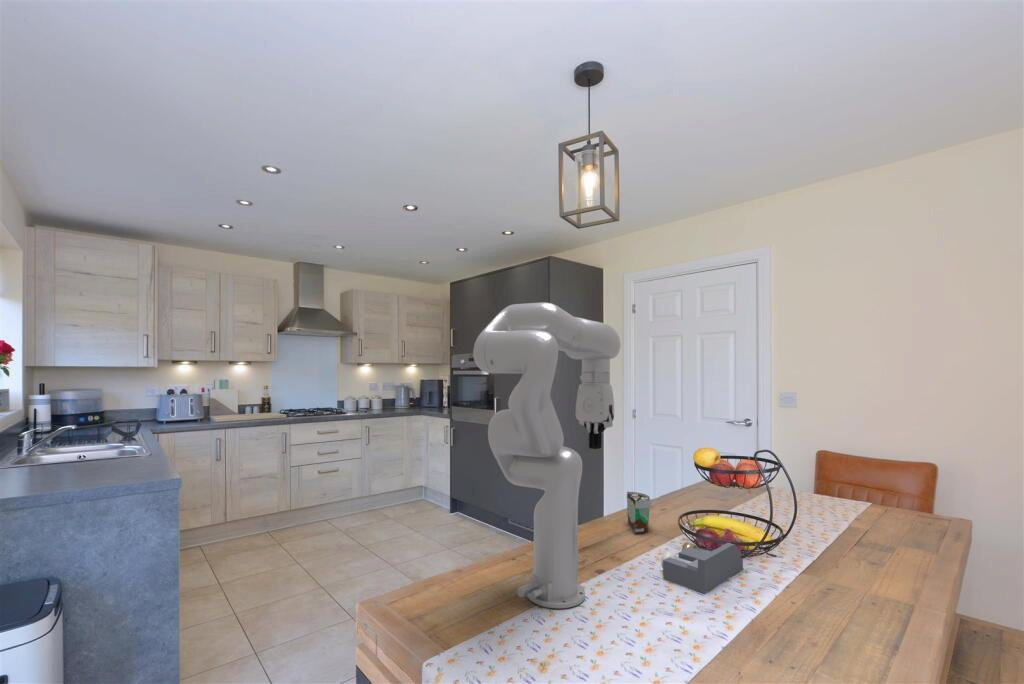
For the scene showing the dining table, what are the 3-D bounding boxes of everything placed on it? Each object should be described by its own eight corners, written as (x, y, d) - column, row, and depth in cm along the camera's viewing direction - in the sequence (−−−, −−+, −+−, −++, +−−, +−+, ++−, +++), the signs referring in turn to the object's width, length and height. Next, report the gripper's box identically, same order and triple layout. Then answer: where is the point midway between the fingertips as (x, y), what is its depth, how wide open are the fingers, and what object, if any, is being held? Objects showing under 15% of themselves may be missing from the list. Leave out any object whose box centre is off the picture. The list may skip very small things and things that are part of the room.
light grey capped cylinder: (702, 585, 108) (702, 566, 108) (661, 570, 115) (661, 553, 115) (710, 580, 110) (710, 562, 111) (669, 566, 118) (669, 549, 118)
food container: (657, 536, 140) (656, 501, 141) (635, 536, 140) (635, 501, 141) (646, 523, 153) (645, 491, 153) (626, 523, 153) (626, 491, 153)
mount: (704, 593, 104) (704, 560, 104) (663, 578, 111) (662, 548, 112) (742, 568, 117) (742, 539, 118) (703, 557, 125) (703, 529, 125)
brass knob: (721, 572, 114) (721, 555, 115) (681, 560, 122) (681, 544, 122) (729, 568, 117) (728, 551, 117) (689, 556, 125) (689, 540, 125)
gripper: (565, 378, 133) (564, 446, 131) (609, 379, 121) (608, 452, 120) (583, 379, 138) (583, 444, 136) (627, 380, 126) (626, 450, 125)
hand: (595, 448), depth 128 cm, fingers closed
